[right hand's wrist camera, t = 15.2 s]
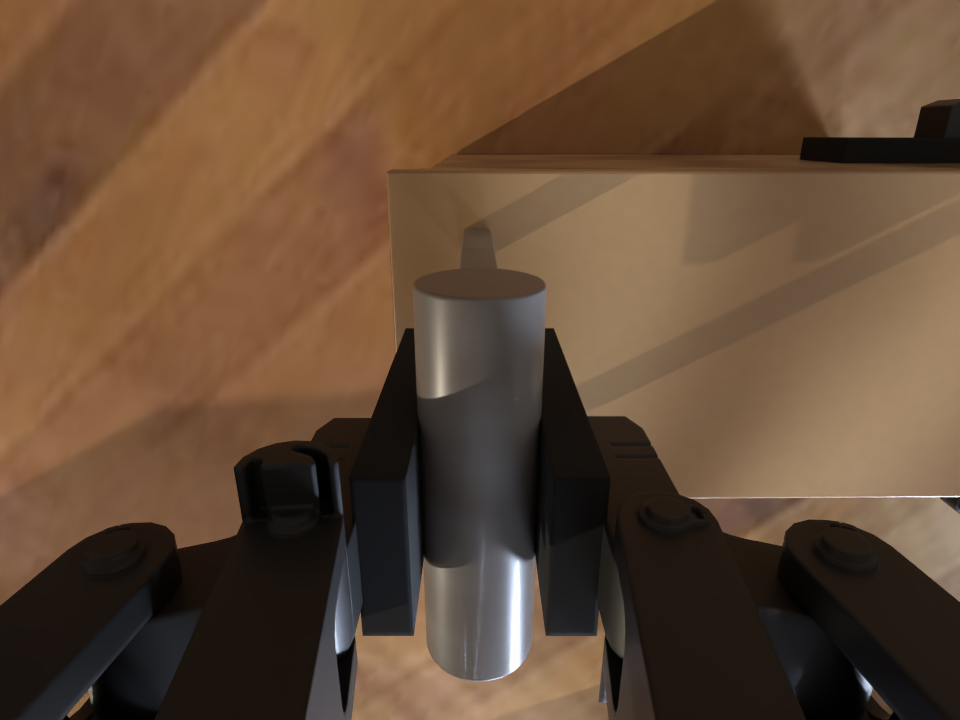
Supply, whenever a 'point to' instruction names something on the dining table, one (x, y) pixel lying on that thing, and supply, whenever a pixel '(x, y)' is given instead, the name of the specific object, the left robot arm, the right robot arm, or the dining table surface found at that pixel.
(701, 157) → the chest
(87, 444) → the dining table surface
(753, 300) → the lid
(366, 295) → the dining table surface
